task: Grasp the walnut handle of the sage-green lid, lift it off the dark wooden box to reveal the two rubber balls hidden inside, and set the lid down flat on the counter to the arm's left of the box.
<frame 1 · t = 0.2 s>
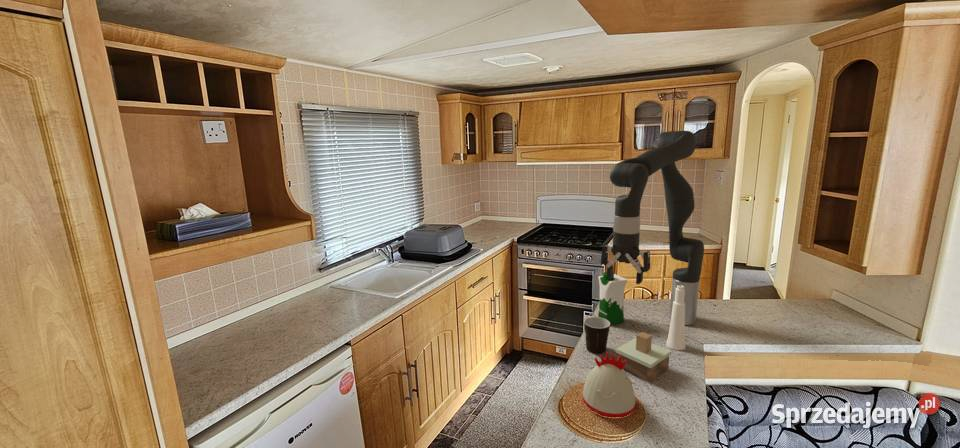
hand: (624, 280, 122), 28 cm above the counter, fingers open, 8 cm apart
cosmetic bottle: (675, 346, 136), on the counter
milk carton: (610, 320, 157), on the counter
box: (642, 367, 124), on the counter
coffee mug: (594, 351, 135), on the counter
ball a: (641, 356, 127), point 2 cm above the counter, touching box
lid: (643, 353, 123), point 5 cm above the counter, touching box
cream dome: (608, 402, 109), on the counter
ball b: (645, 367, 120), point 2 cm above the counter, touching box
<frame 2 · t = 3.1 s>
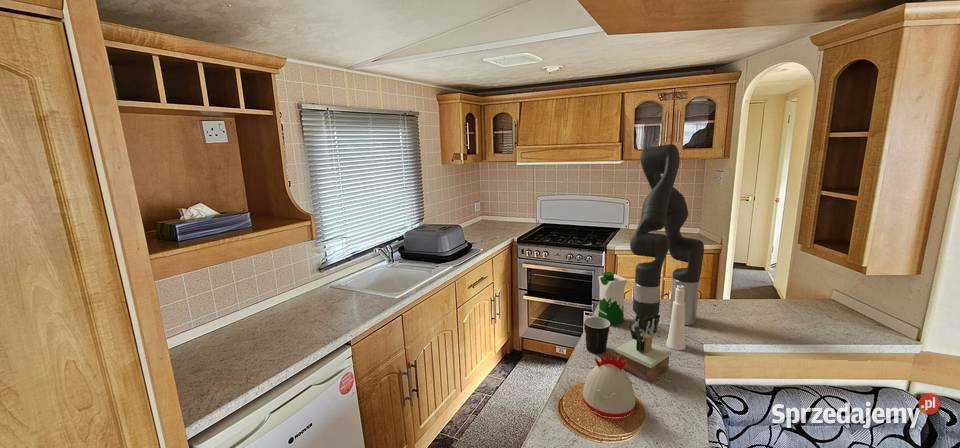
hand: (643, 348, 123), 7 cm above the counter, fingers closed on lid, 3 cm apart
lid: (643, 353, 123), point 5 cm above the counter, touching gripper
everything else where it was.
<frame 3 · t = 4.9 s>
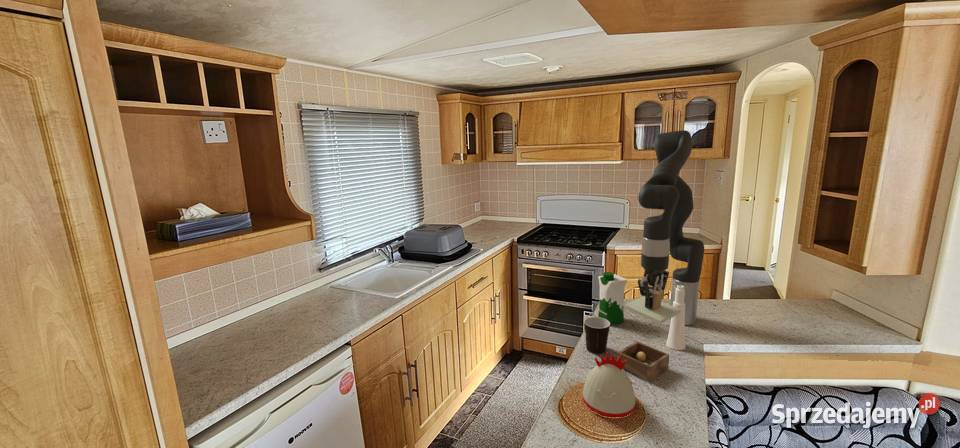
hand: (652, 306, 120), 21 cm above the counter, fingers closed on lid, 3 cm apart
lid: (651, 310, 120), point 19 cm above the counter, tilted 6°, touching gripper
everything else where it was.
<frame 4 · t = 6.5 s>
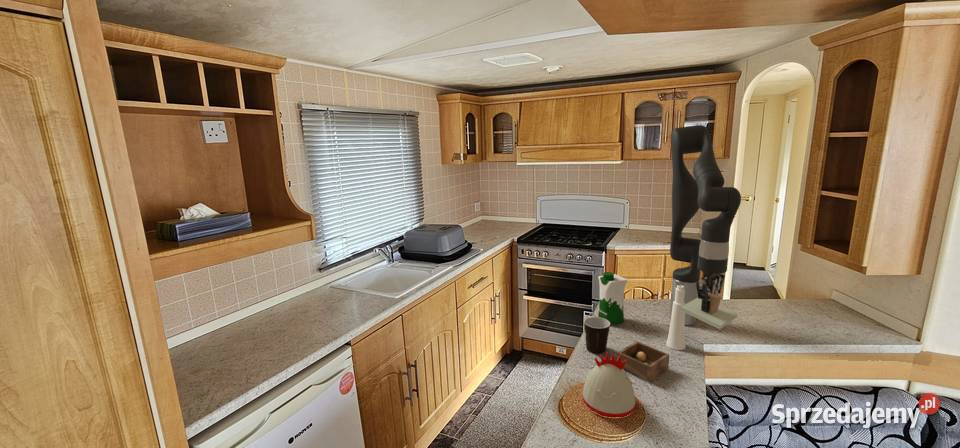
hand: (708, 309, 119), 20 cm above the counter, fingers closed on lid, 3 cm apart
lid: (708, 313, 119), point 18 cm above the counter, tilted 9°, touching gripper
everything else where it was.
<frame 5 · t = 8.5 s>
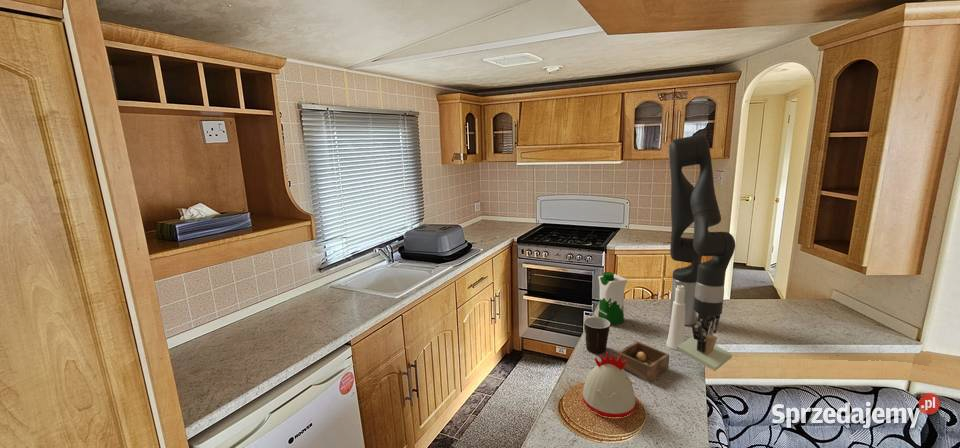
hand: (703, 349, 121), 7 cm above the counter, fingers closed on lid, 3 cm apart
lid: (703, 353, 122), point 5 cm above the counter, tilted 10°, touching gripper
everything else where it was.
when the fingers open (3 cm above the counter, at t = 10.1 s): lid drops 2 cm, on the counter.
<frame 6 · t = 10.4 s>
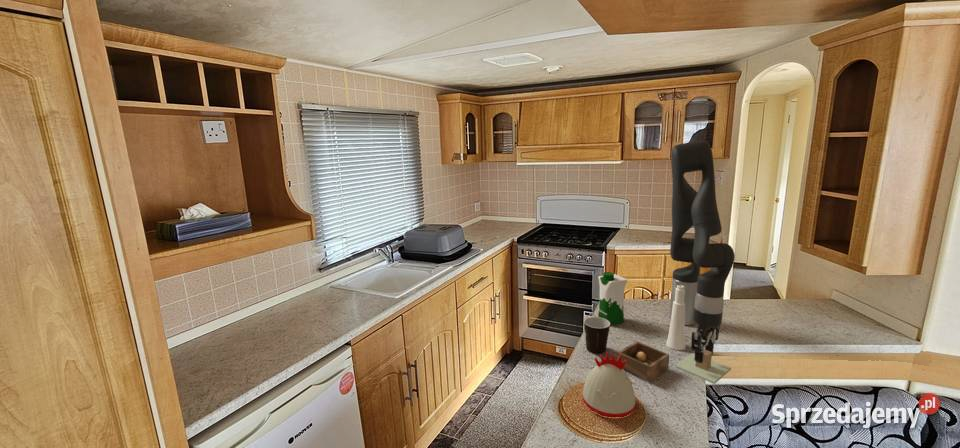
hand: (703, 357, 122), 4 cm above the counter, fingers open, 6 cm apart
lid: (702, 369, 123), on the counter
everything else where it was.
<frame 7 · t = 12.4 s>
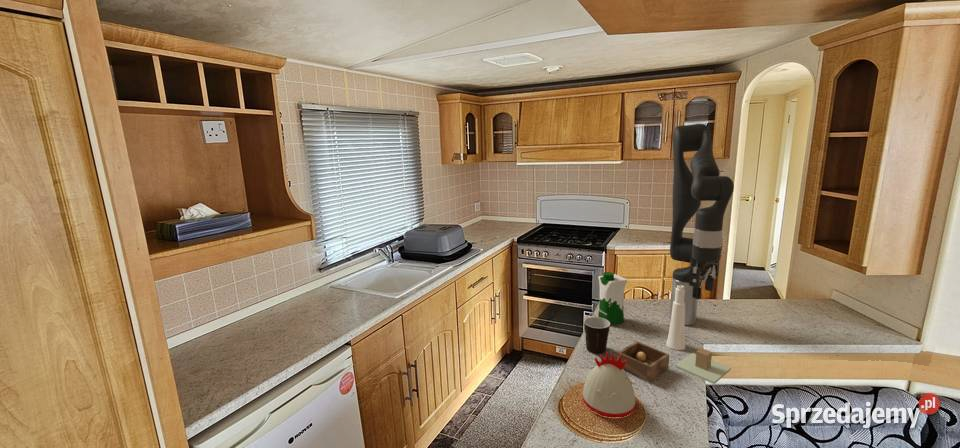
hand: (702, 294, 120), 24 cm above the counter, fingers open, 8 cm apart
nothing on the counter moved.
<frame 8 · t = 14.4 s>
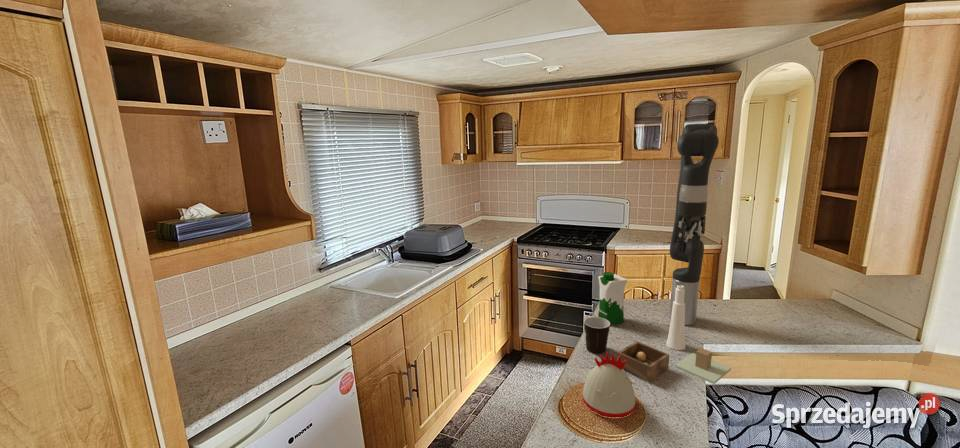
hand: (688, 250, 123), 36 cm above the counter, fingers open, 8 cm apart
nothing on the counter moved.
at the end: lid inside the target area (0.1 cm from its centre), on the counter; lid touching counter; the gripper is holding nothing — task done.
